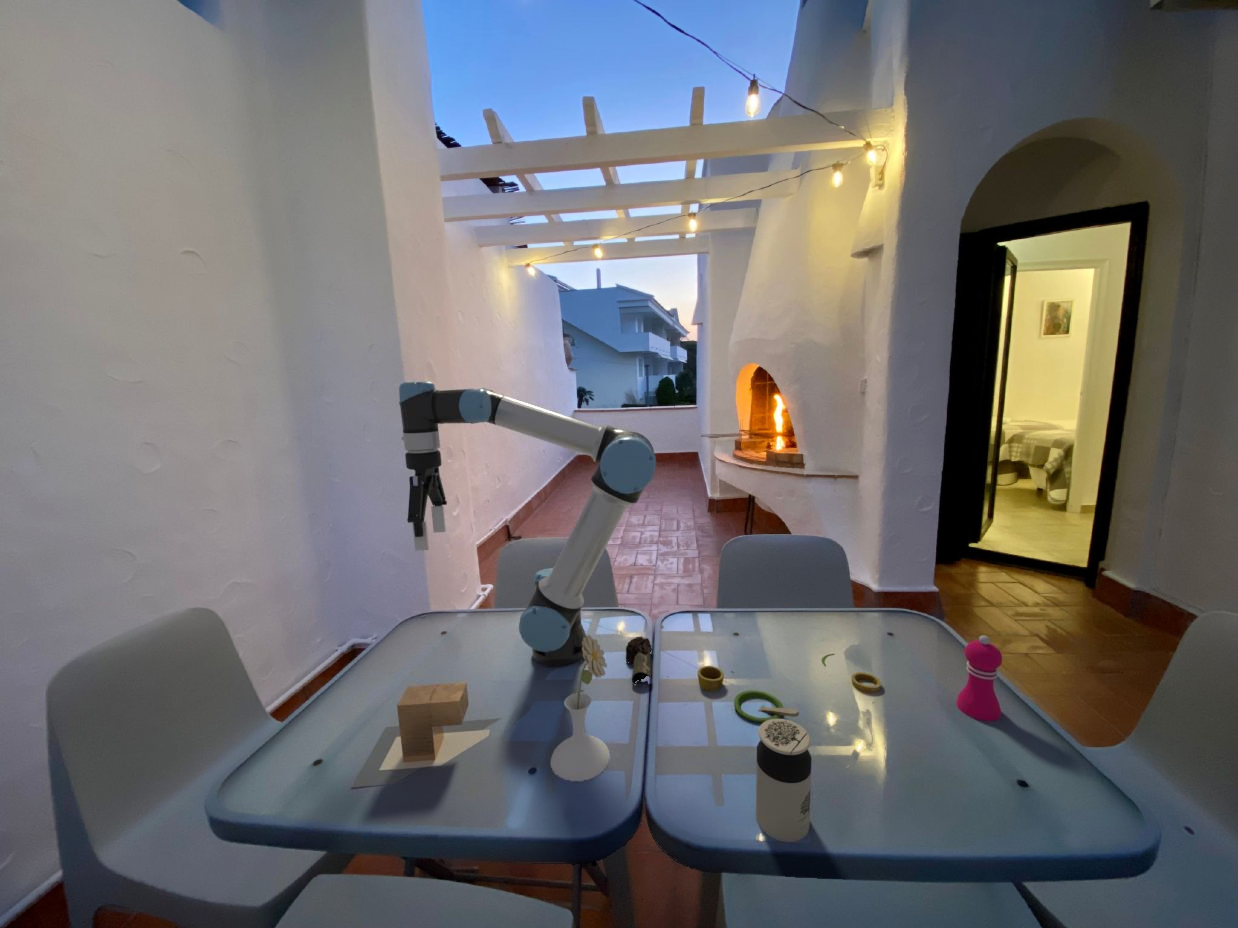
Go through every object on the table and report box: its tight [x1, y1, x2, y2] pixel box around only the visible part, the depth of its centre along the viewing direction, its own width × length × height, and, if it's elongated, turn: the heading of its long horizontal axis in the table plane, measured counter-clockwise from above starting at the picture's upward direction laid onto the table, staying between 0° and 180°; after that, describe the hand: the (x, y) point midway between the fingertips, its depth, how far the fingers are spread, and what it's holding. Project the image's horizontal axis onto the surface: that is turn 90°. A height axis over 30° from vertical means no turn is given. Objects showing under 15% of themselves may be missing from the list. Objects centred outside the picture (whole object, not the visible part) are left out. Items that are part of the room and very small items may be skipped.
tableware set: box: [697, 653, 882, 724], centre depth 112 cm, size 41×28×6 cm
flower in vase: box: [550, 634, 611, 782], centre depth 92 cm, size 13×11×25 cm
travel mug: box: [755, 718, 813, 843], centre depth 76 cm, size 8×8×18 cm
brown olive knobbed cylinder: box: [625, 636, 653, 685], centre depth 124 cm, size 18×7×6 cm, turn 176°
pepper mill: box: [956, 634, 1003, 722], centre depth 99 cm, size 7×7×20 cm
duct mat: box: [350, 717, 502, 789], centre depth 98 cm, size 26×16×1 cm, turn 94°
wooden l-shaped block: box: [396, 681, 469, 763], centre depth 97 cm, size 6×12×12 cm, turn 94°
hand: (431, 540), depth 115 cm, fingers open, 13 cm apart
